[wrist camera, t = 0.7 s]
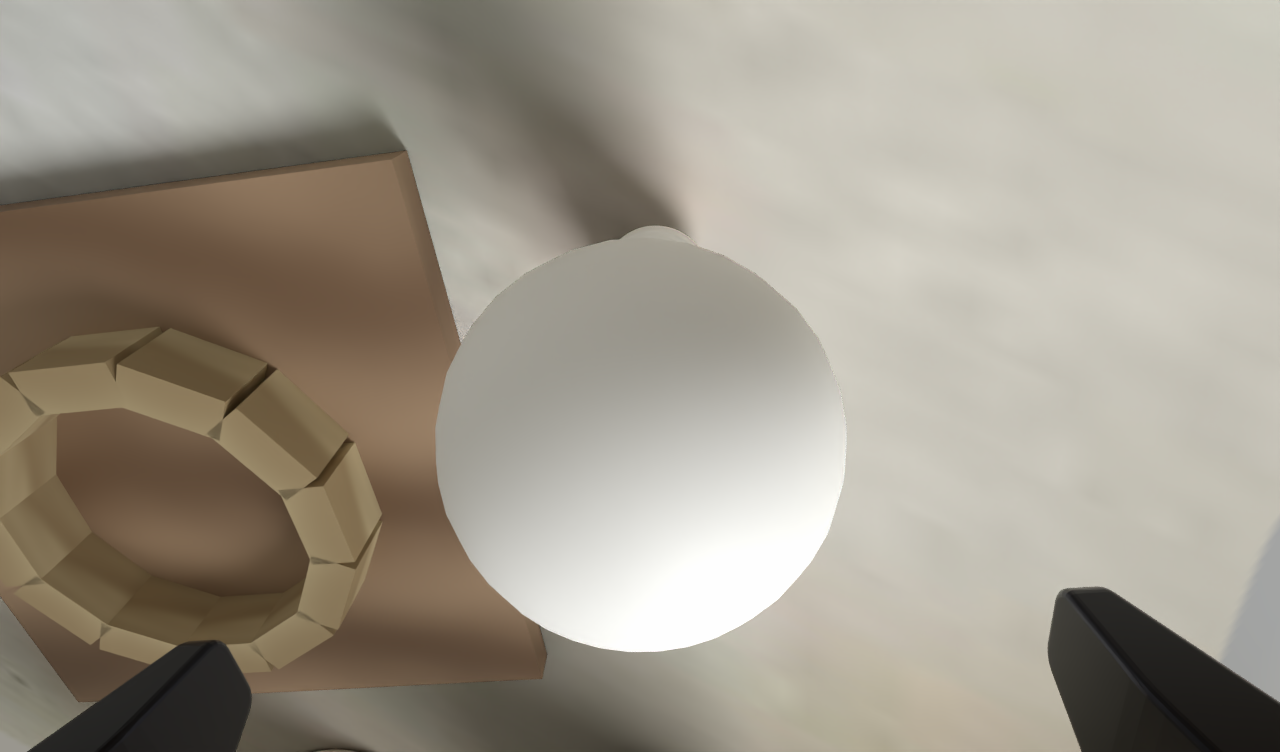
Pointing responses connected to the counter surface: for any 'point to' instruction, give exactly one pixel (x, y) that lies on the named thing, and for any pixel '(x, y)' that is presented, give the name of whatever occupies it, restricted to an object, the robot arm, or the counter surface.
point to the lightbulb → (640, 443)
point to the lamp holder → (238, 435)
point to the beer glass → (335, 750)
